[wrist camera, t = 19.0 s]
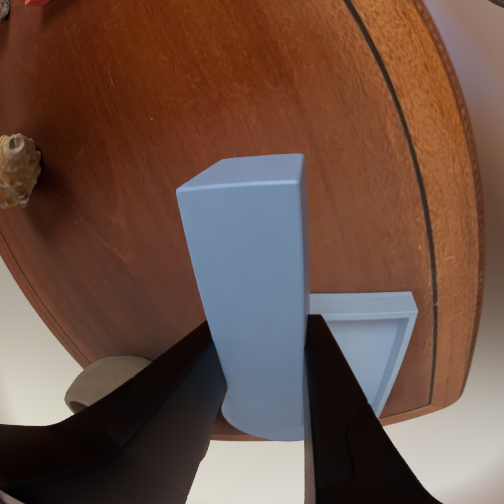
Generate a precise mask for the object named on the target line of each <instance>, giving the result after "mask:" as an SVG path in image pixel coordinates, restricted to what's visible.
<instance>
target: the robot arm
mask: <svg viewBox="0 0 504 504" xmlns="http://www.w3.org/2000/svg"><path fill="white" fill-rule="evenodd" d="M226 386H227V382H226V379H225V376H224V373H223V370H222V366H221V363H220V360H219V357H218V353H217V350H216V347H215V343H214V341H213V338H212V335H211V331H210V328H209V325H208V321H207V320H206V321H204V322H203V323H202V324H201V325H199V326H198V327H197V328H196V329H194V330H193V331H192V332H190V333H189V334H188V335H187V336H185V337H184V338H183V339H181V340H180V341H179V342H178V343H176V344H175V345H174V346H172V347H171V348H170V349H168V350H167V351H166V352H165V353H163V354H162V355H161V356H159V357H158V358H157V359H155V360H154V361H153V362H151V363H150V364H149V365H148V366H146V367H145V368H144V369H142V370H141V371H140V372H138V373H137V374H136V375H134V378H133V377H132V378H130V379H129V380H127V381H126V382H125V383H123V384H122V385H121V386H119V387H118V388H116V389H115V390H114V391H112V392H111V393H109V394H108V395H106V396H104V397H103V398H101V399H100V400H98V401H96V402H95V403H93V404H91V405H90V406H88V407H86V408H84V409H83V410H81V411H79V412H78V413H76V414H74V415H73V416H70V417H69V418H67V419H65V420H63V421H61V422H59V423H56V424H53V425H48V426H22V425H6V424H0V504H185V503H186V500H187V496H188V494H189V491H190V489H191V486H192V483H193V480H194V478H195V475H196V472H197V469H198V467H199V464H200V461H201V458H202V455H203V453H204V450H205V447H206V444H207V441H208V438H209V435H210V433H211V430H212V427H213V424H214V421H215V418H216V415H217V412H218V409H219V407H220V404H221V401H222V398H223V395H224V392H225V389H226ZM303 408H304V448H305V500H304V504H443V503H441V502H440V501H438V500H437V499H435V498H434V497H433V496H432V495H431V494H430V493H429V492H428V491H427V490H426V489H425V488H424V487H423V486H422V484H421V483H420V482H419V480H418V479H417V477H416V476H415V475H414V473H413V472H412V470H411V469H410V468H409V466H408V465H407V463H406V462H405V460H404V459H403V458H402V456H401V455H400V453H399V452H398V451H397V449H396V448H395V446H394V445H393V443H392V442H391V440H390V438H389V437H388V435H387V434H386V432H385V431H384V429H383V427H382V425H381V424H380V422H379V420H378V418H377V417H376V415H375V413H374V411H373V409H372V407H371V405H370V404H369V403H368V400H367V398H366V396H365V394H364V392H363V390H362V388H361V386H360V384H359V382H358V380H357V379H356V377H355V375H354V373H353V371H352V369H351V367H350V365H349V364H348V362H347V360H346V358H345V356H344V354H343V352H342V351H341V349H340V347H339V345H338V343H337V341H336V340H335V338H334V336H333V334H332V332H331V331H330V329H329V327H328V325H327V323H326V321H325V320H324V318H323V316H322V315H321V314H308V320H307V330H306V340H305V346H304V369H303Z"/></svg>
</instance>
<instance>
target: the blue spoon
mask: <svg viewBox="0 0 504 504" xmlns="http://www.w3.org/2000/svg"><path fill="white" fill-rule="evenodd" d="M176 195H177V200H178V205H179V209H180V214H181V219H182V223H183V227H184V232H185V236H186V240H187V245H188V249H189V253H190V257H191V261H192V265H193V269H194V273H195V277H196V281H197V285H198V288H199V292H200V296H201V300H202V303H203V307H204V310H205V314H206V318H207V321H208V325H209V328H210V331H211V335H212V338H213V341H214V343H215V347H216V350H217V353H218V357H219V360H220V363H221V366H222V370H223V373H224V376H225V379H226V382H227V386H228V389H227V393H226V396H225V399H224V402H223V405H222V413H223V416H224V417H225V419H226V420H227V421H228V422H229V423H230V424H231V425H233V426H234V427H235V428H237V429H239V430H241V431H243V432H245V433H247V434H250V435H253V436H256V437H259V438H263V439H268V440H275V441H301V440H304V408H303V369H304V346H305V340H306V330H307V320H308V314H310V262H309V226H308V203H307V185H306V169H305V156H304V154H301V153H299V154H279V155H264V156H251V157H240V158H229V159H222V160H220V161H219V162H217V163H215V164H214V165H212V166H211V167H209V168H208V169H206V170H204V171H203V172H201V173H200V174H198V175H197V176H195V177H194V178H192V179H191V180H189V181H188V182H186V183H185V184H183V185H182V186H180V187H179V188H177V190H176Z"/></svg>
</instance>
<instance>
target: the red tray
mask: <svg viewBox="0 0 504 504" xmlns="http://www.w3.org/2000/svg"><path fill="white" fill-rule="evenodd" d="M49 1H50V0H26V2H25V5H26V6H40V7H43V6H44V5H45V4H46V3H47V2H49Z"/></svg>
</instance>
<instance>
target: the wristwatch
mask: <svg viewBox="0 0 504 504" xmlns="http://www.w3.org/2000/svg"><path fill="white" fill-rule="evenodd" d="M0 3H1V6H2V9H1V10H0V13H1V15H0V23H2V22H3V20H4V18H5V17H6V16H7V14H8V12H9V9H10V2H9V0H0Z"/></svg>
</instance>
